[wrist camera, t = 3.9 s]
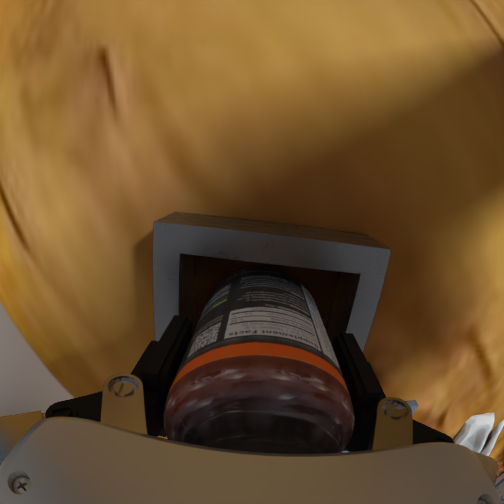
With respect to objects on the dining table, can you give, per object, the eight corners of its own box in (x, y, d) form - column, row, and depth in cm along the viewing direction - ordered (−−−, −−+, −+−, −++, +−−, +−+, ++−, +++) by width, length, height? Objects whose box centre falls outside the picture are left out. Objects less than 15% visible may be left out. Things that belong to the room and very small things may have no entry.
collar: (368, 234, 14) (391, 249, 11) (328, 385, 17) (336, 418, 14) (174, 211, 14) (153, 221, 11) (174, 370, 17) (161, 400, 14)
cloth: (403, 504, 25) (411, 532, 19) (349, 487, 22) (357, 528, 16) (521, 419, 20) (538, 442, 14) (516, 364, 17) (546, 396, 11)
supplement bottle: (287, 369, 16) (300, 544, 5) (194, 335, 16) (125, 510, 5) (334, 285, 15) (428, 466, 4) (230, 243, 14) (146, 419, 4)
